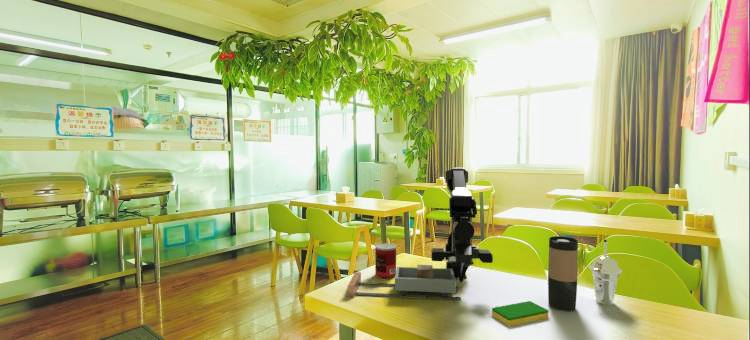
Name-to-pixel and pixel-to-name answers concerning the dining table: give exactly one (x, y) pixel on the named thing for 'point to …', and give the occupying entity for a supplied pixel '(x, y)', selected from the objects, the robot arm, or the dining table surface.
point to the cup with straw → (605, 277)
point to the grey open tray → (425, 281)
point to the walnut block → (425, 271)
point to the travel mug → (562, 273)
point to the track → (357, 282)
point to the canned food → (385, 261)
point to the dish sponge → (519, 313)
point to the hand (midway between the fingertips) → (460, 281)
